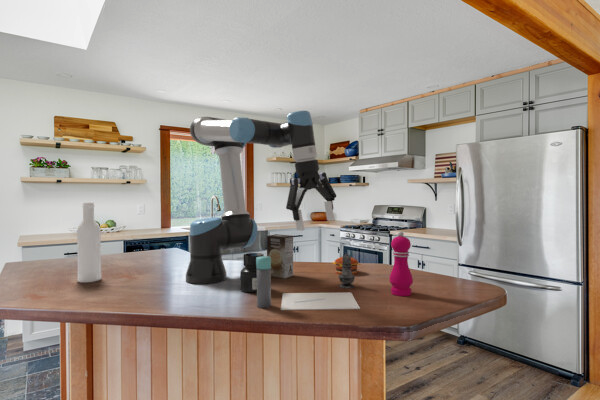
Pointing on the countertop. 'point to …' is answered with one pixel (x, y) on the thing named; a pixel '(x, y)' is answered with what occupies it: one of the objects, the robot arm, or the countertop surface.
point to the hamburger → (340, 262)
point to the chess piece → (346, 273)
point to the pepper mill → (401, 266)
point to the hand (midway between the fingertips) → (316, 225)
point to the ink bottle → (249, 273)
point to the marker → (263, 281)
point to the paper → (318, 301)
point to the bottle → (88, 246)
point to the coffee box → (280, 255)
